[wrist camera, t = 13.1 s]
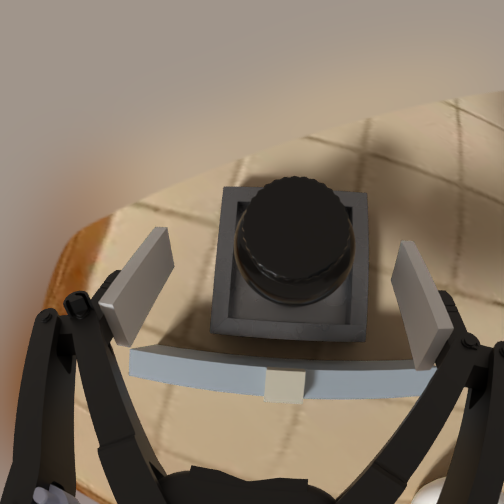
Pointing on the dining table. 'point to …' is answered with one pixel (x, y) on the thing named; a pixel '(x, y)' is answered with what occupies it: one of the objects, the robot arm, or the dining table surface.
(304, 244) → the supplement bottle
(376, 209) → the dining table surface
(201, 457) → the dining table surface
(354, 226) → the keeper frame
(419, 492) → the white trefoil knot
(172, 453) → the dining table surface
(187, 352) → the door edge plank
